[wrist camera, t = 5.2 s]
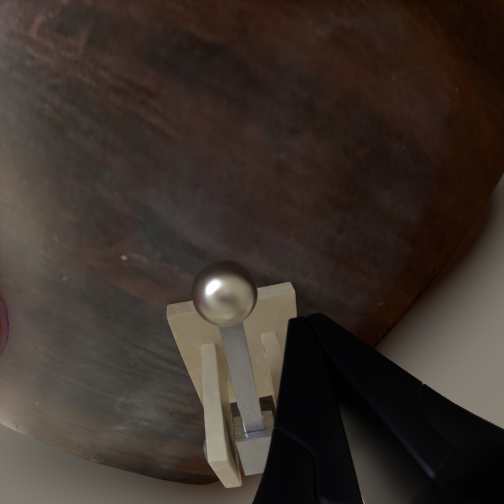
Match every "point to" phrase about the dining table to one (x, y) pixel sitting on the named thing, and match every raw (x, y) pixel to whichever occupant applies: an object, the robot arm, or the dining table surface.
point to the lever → (236, 352)
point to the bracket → (217, 373)
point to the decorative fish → (3, 326)
